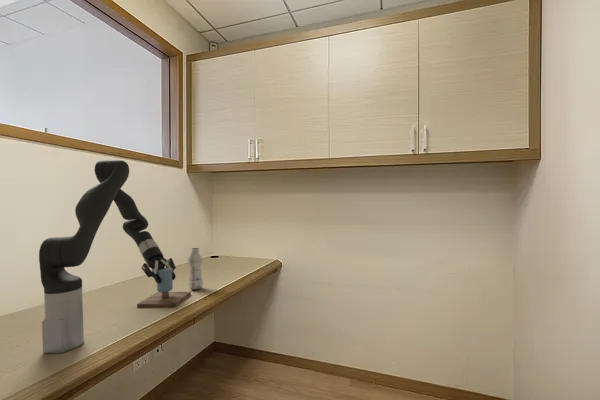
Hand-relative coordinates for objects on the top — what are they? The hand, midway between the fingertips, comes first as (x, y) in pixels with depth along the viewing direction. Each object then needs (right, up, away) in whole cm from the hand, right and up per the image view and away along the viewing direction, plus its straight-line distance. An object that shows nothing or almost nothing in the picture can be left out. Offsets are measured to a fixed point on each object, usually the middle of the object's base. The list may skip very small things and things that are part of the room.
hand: (167, 280), depth 133 cm
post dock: (-1, -9, +1) cm, 9 cm away
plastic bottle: (+7, -9, +17) cm, 21 cm away
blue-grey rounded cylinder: (-1, -4, +1) cm, 5 cm away
